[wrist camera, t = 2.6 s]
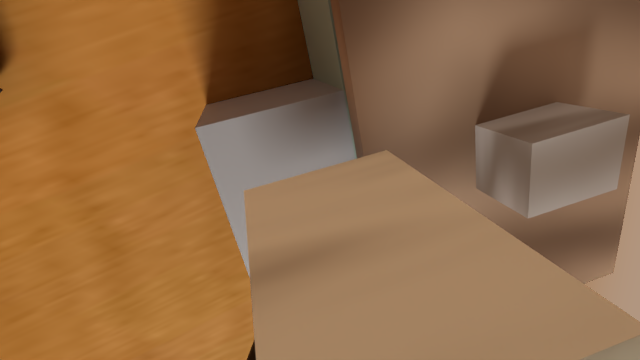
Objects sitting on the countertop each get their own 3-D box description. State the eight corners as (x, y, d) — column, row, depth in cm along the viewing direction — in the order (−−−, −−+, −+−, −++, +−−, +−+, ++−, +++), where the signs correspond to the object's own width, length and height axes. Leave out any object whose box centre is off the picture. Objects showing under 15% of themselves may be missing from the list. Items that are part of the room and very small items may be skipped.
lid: (596, 263, 21) (672, 308, 17) (387, 339, 19) (423, 407, 15) (665, -154, 13) (833, -233, 9) (314, -93, 11) (353, -162, 7)
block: (407, 310, 12) (582, 577, 6) (296, 350, 11) (366, 688, 5) (386, 150, 9) (652, 329, 3) (243, 190, 9) (265, 487, 3)
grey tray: (522, 218, 26) (592, 260, 21) (273, 301, 24) (284, 372, 19) (537, -95, 18) (655, -150, 13) (162, -23, 16) (127, -58, 10)
